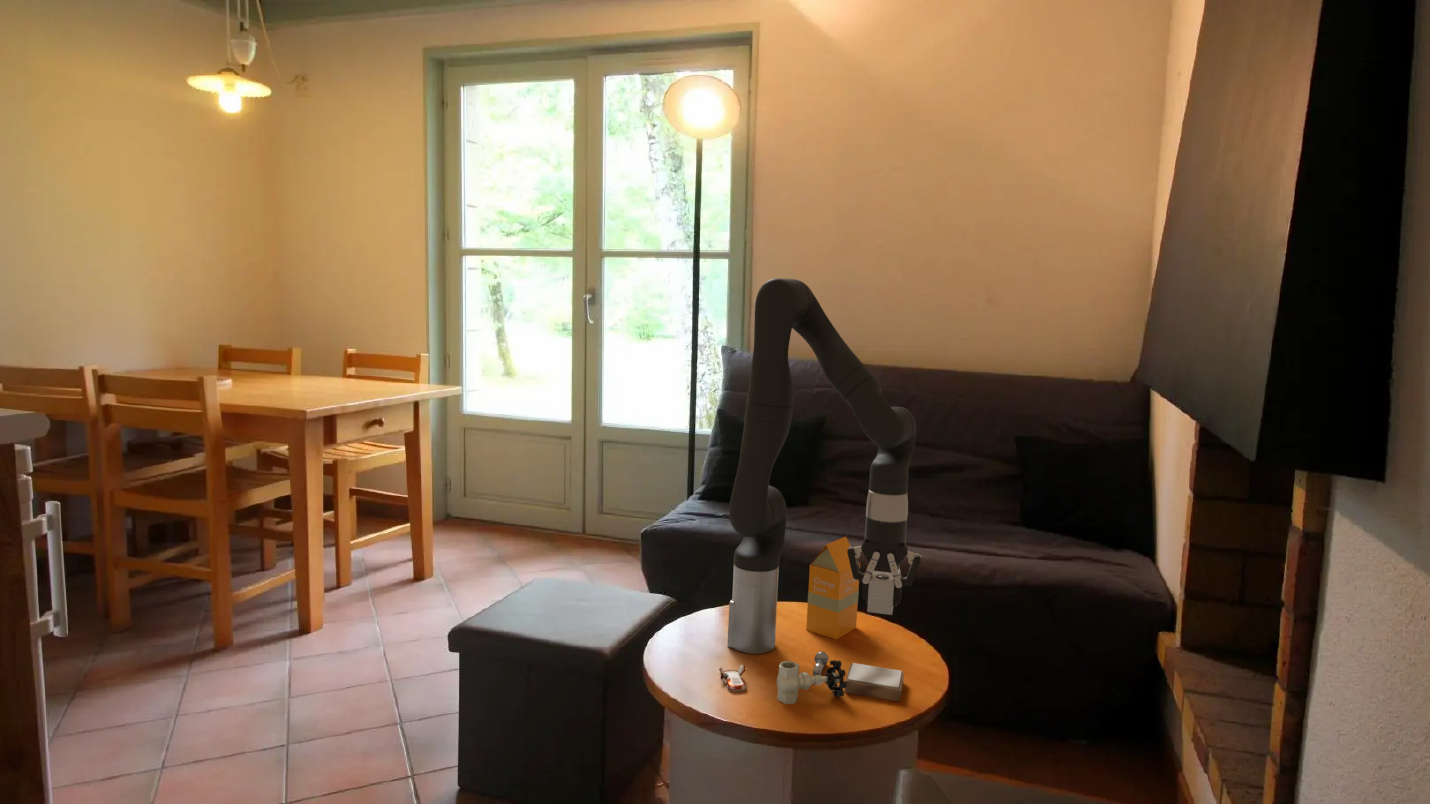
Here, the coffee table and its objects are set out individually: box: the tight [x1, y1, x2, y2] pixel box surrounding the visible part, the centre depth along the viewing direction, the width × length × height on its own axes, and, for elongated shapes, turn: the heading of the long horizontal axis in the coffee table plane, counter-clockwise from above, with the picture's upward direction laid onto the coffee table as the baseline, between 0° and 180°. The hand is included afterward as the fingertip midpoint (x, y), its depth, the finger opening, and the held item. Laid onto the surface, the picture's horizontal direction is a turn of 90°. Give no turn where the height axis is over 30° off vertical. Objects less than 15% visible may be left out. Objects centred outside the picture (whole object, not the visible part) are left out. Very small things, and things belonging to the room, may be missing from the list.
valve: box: [776, 659, 847, 705], centre depth 153 cm, size 7×7×12 cm
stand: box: [844, 662, 905, 702], centre depth 158 cm, size 10×8×2 cm
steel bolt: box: [812, 650, 829, 676], centre depth 165 cm, size 6×3×3 cm, turn 163°
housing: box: [866, 570, 895, 616], centre depth 159 cm, size 4×6×6 cm
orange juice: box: [805, 536, 861, 640], centre depth 184 cm, size 8×9×20 cm
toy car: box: [718, 664, 747, 692], centre depth 158 cm, size 5×8×3 cm, turn 12°
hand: (881, 603), depth 159 cm, fingers closed on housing, 4 cm apart
